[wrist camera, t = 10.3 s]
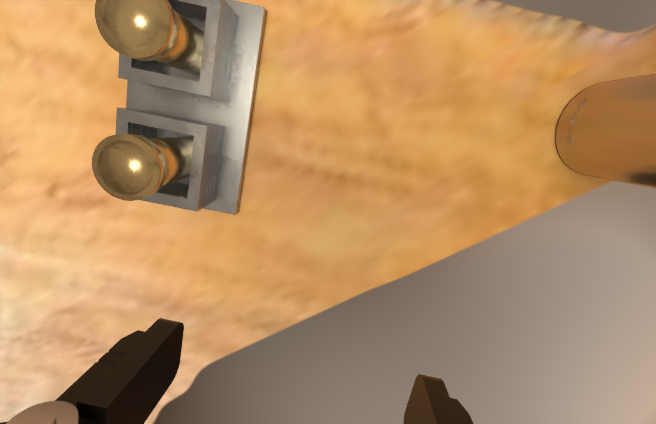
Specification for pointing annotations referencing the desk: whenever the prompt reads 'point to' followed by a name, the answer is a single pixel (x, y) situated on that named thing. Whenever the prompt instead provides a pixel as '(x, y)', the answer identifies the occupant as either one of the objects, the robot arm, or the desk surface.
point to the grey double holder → (190, 87)
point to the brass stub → (140, 164)
